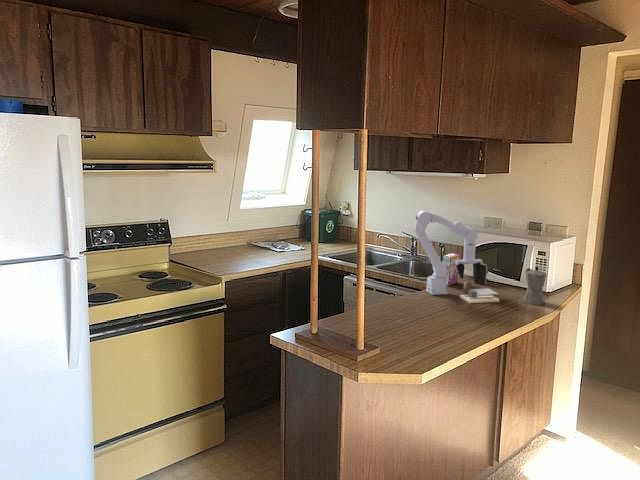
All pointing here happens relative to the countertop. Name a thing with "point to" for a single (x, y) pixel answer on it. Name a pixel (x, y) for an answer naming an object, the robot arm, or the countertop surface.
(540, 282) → the coffeepot
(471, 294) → the switch tab
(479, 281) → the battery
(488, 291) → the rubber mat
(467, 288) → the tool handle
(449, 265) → the candy bar box
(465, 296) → the switch panel
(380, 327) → the countertop surface
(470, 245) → the robot arm
